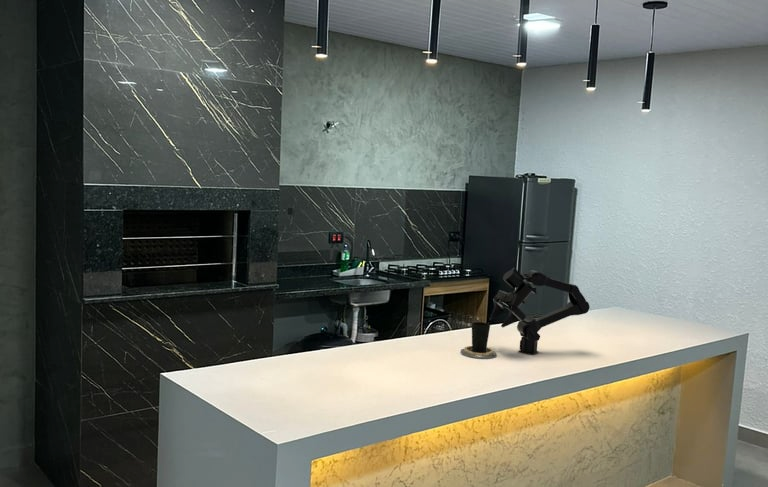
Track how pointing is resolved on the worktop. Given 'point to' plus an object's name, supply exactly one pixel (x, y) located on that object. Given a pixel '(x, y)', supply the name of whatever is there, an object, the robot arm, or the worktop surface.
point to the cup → (480, 336)
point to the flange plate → (478, 353)
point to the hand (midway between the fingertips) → (496, 322)
